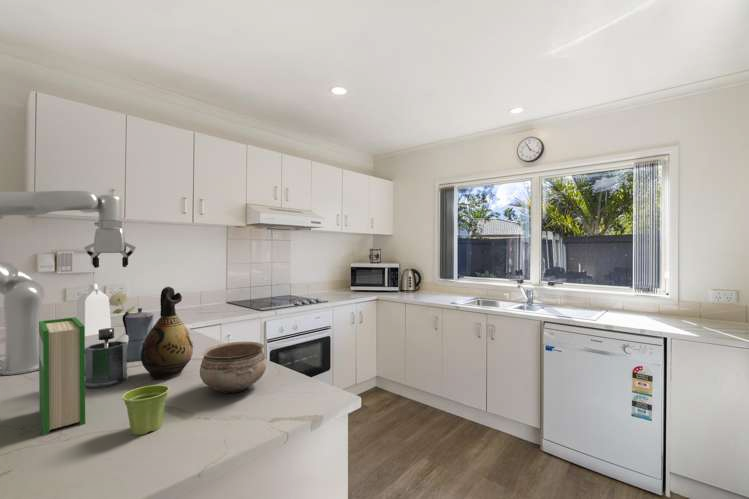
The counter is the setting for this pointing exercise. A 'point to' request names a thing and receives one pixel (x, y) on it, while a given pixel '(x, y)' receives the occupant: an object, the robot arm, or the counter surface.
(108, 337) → the dark grey stemmed piece
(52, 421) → the hardback book
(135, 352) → the moka pot
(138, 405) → the plant pot
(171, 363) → the ceramic jug
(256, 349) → the cooking pot
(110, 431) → the counter surface
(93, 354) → the carafe
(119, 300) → the flower in vase
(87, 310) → the milk
